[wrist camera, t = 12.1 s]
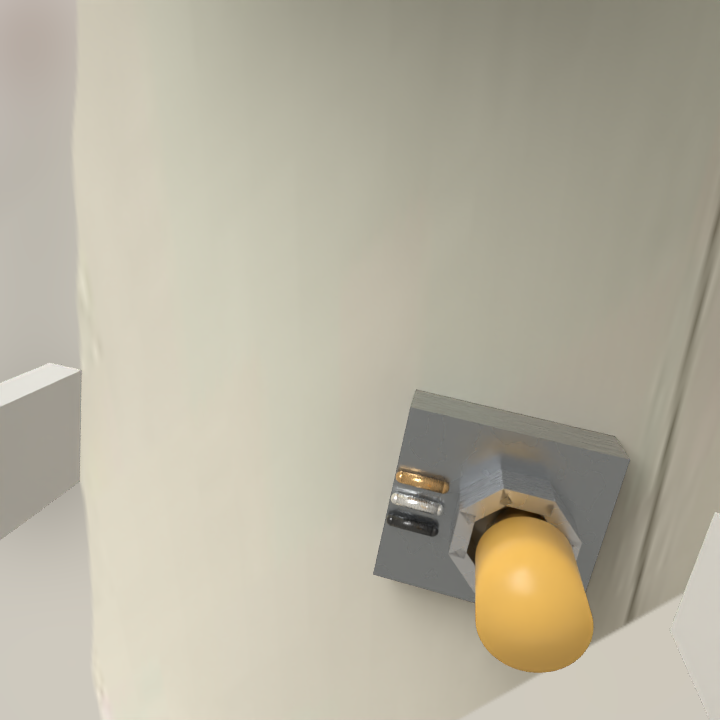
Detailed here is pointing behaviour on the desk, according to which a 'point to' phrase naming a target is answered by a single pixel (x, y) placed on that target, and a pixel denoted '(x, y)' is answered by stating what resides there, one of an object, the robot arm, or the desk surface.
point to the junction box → (491, 489)
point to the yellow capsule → (530, 594)
